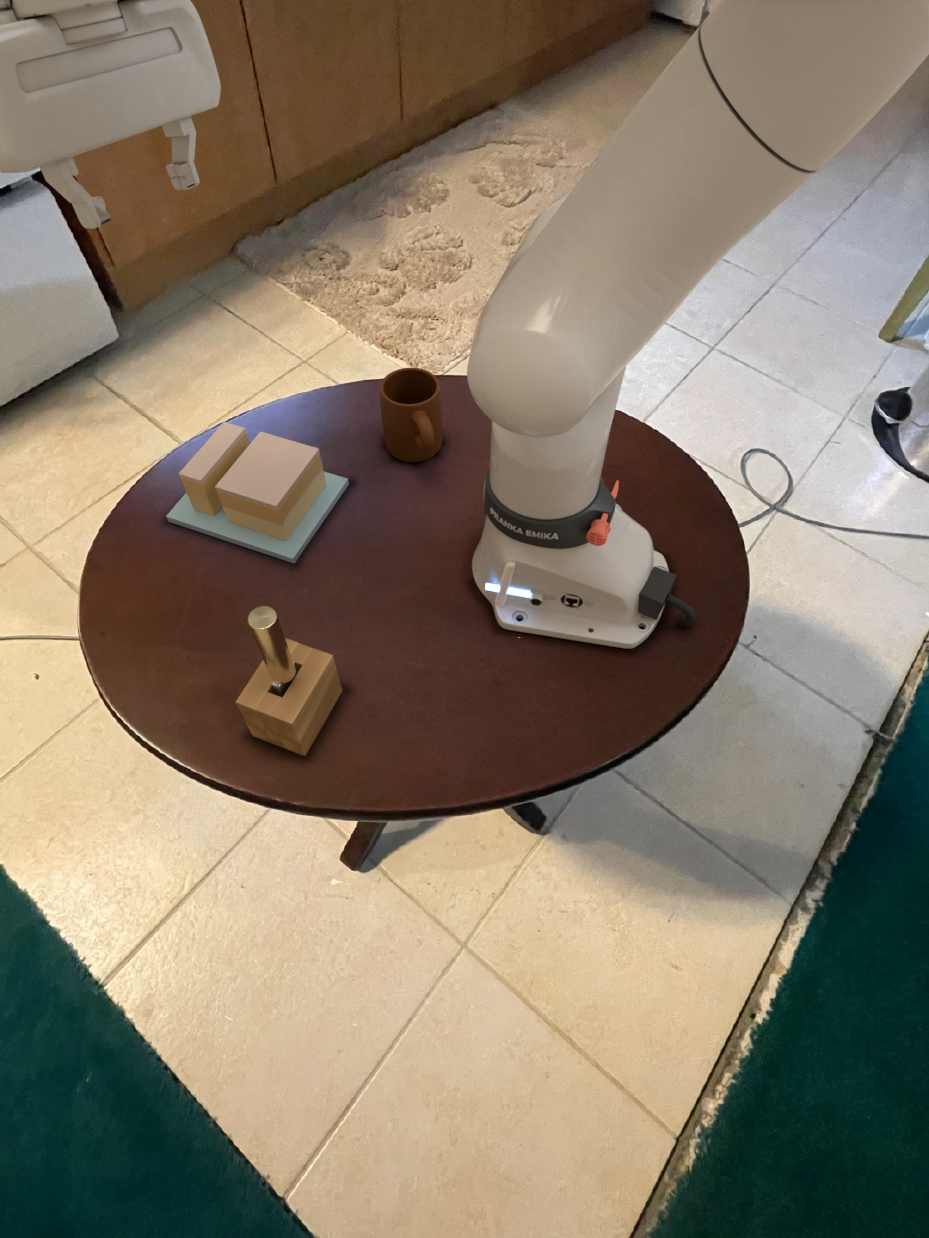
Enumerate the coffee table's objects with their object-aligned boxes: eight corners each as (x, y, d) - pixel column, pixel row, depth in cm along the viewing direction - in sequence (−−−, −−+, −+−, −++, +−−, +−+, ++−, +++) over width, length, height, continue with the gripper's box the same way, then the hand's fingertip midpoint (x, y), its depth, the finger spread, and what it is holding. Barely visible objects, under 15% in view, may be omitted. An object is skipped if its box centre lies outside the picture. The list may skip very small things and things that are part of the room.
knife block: (342, 690, 79) (333, 655, 74) (305, 756, 75) (292, 724, 69) (291, 672, 81) (278, 635, 75) (252, 735, 76) (235, 702, 71)
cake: (349, 484, 96) (342, 442, 91) (294, 564, 89) (282, 523, 83) (230, 448, 100) (216, 405, 94) (168, 521, 93) (148, 480, 87)
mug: (460, 480, 97) (460, 422, 89) (402, 494, 95) (397, 436, 88) (433, 420, 103) (430, 361, 96) (378, 432, 102) (371, 373, 94)
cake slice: (256, 464, 97) (245, 427, 92) (214, 516, 92) (200, 480, 87) (235, 458, 98) (223, 421, 93) (193, 509, 93) (178, 473, 88)
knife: (315, 704, 78) (283, 608, 64) (301, 729, 77) (265, 635, 63) (295, 697, 79) (259, 599, 65) (280, 721, 77) (240, 626, 63)
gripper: (-59, -6, 43) (62, 253, 52) (197, -48, 55) (258, 168, 64) (-117, 7, 46) (8, 251, 55) (139, -35, 58) (205, 170, 67)
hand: (144, 206), depth 60 cm, fingers open, 8 cm apart
